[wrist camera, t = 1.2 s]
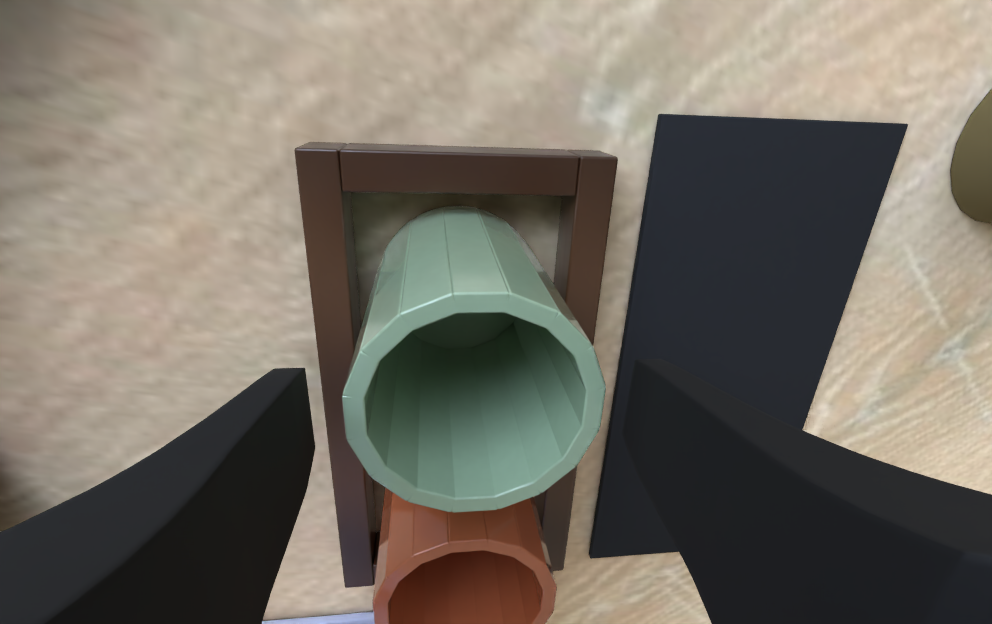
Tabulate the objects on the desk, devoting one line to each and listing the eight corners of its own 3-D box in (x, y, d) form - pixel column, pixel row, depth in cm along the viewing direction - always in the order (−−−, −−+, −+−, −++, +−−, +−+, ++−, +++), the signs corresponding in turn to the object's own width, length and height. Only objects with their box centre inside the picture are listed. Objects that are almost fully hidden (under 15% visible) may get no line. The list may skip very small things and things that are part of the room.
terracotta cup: (517, 510, 23) (548, 656, 17) (391, 518, 22) (378, 674, 16) (525, 406, 21) (564, 534, 15) (385, 411, 20) (367, 548, 14)
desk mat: (759, 540, 26) (762, 545, 25) (588, 553, 25) (590, 558, 24) (901, 123, 18) (908, 124, 17) (657, 113, 17) (661, 114, 16)
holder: (554, 538, 24) (563, 570, 22) (350, 552, 23) (344, 588, 21) (600, 150, 17) (619, 157, 15) (307, 141, 16) (293, 147, 14)
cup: (529, 350, 20) (588, 505, 12) (382, 353, 19) (353, 520, 12) (540, 206, 17) (621, 291, 10) (374, 204, 17) (331, 293, 9)
